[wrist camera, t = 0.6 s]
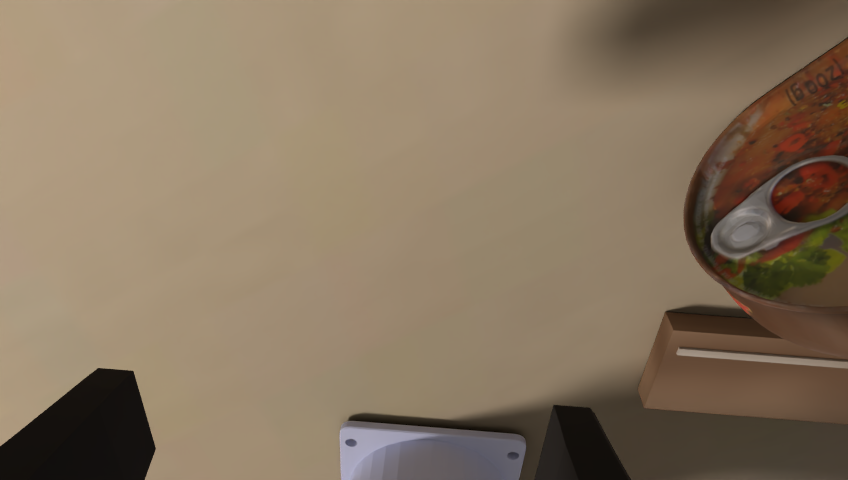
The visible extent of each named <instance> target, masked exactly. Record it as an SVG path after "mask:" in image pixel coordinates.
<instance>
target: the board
mask: <svg viewBox="0 0 848 480" xmlns="http://www.w3.org/2000/svg"><path fill="white" fill-rule="evenodd" d="M638 391H639V394H640V397H641V400H642V403H643V406H644V408H648V409H660V410H673V411H685V412H698V413H710V414H723V415H735V416H748V417H761V418H773V419H786V420H798V421H811V422H823V423H836V424H848V358H843V357H838V356H833V355H828V354H824V353H820V352H816V351H813V350H810V349H807V348H804V347H802V346H799V345H796V344H794V343H792V342H790V341H787V340H785V339H783V338H781V337H779V336H778V335H776V334H774V333H772V332H771V331H769V330H767V329H766V328H765V327H763V326H762V325H760V324H759V323H758V322H757V321H755V320H754V319H749V318H736V317H723V316H711V315H698V314H685V313H672V312H665V314H664V317H663V320H662V323H661V325H660V328H659V331H658V334H657V337H656V339H655V342H654V345H653V348H652V350H651V353H650V356H649V359H648V362H647V364H646V367H645V370H644V373H643V376H642V378H641V381H640V384H639V387H638Z"/></svg>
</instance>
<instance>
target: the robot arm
mask: <svg viewBox="0 0 848 480" xmlns="http://www.w3.org/2000/svg"><path fill="white" fill-rule="evenodd" d="M155 449H156V448H155V444H154V441H153V437H152V434H151V431H150V427H149V424H148V420H147V417H146V413H145V410H144V406H143V403H142V399H141V396H140V392H139V389H138V386H137V382H136V379H135V375H134V372H133V371H128V370H115V369H103V368H98V369H97V370H95V371H94V372H93V373H91V374H90V375H89V376H88V377H86V378H85V379H84V380H82V381H81V382H80V383H79V384H77V385H76V386H75V387H74V388H72V389H71V390H70V391H69V392H68V393H66V394H65V395H64V396H63V397H61V398H60V399H59V400H58V401H56V402H55V403H54V404H53V405H51V406H50V407H49V408H48V409H47V410H45V411H44V412H43V413H42V414H40V415H39V416H38V417H37V418H35V419H34V420H33V421H32V422H30V423H29V424H28V425H27V426H25V427H24V428H23V429H22V430H20V431H19V432H18V433H17V434H15V435H14V436H13V437H12V438H10V439H9V440H8V441H7V442H5V443H4V444H3V445H1V446H0V480H145V477H146V474H147V471H148V469H149V466H150V463H151V460H152V458H153V455H154V452H155ZM525 452H526V440H525V438H524V437H523V436H521V435H518V434H511V433H498V432H486V431H473V430H461V429H449V428H436V427H424V426H411V425H399V424H386V423H374V422H362V421H347V422H344V423H343V424H342V425H341V429H340V460H341V480H519V478H520V473H521V469H522V465H523V460H524V456H525ZM535 480H631V479H630V477H629V476H628V474H627V472H626V470H625V469H624V467H623V465H622V463H621V462H620V460H619V458H618V456H617V455H616V453H615V451H614V449H613V447H612V445H611V444H610V442H609V440H608V438H607V436H606V434H605V432H604V431H603V429H602V427H601V425H600V423H599V421H598V419H597V417H596V415H595V413H594V412H593V411H592V410H591V409H590V408H584V407H572V406H559V405H554V406H553V409H552V413H551V417H550V421H549V425H548V429H547V433H546V437H545V441H544V445H543V448H542V452H541V456H540V460H539V464H538V468H537V472H536V476H535Z"/></svg>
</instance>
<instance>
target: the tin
mask: <svg viewBox="0 0 848 480" xmlns="http://www.w3.org/2000/svg"><path fill="white" fill-rule="evenodd" d="M684 230H685V235H686V240H687V243H688V245H689V247H690V250H691V252H692V254H693V255H694V257H695V259H696V260H697V262H698V263H699V264H700V266H701V267H702V268H703V269H704V270H705V272H706V273H707V274H709V275H710V276H711V277H712V278H713V279H714V280H715V281H717V282H718V283H720V284H721V285H722V286H723V287H724V288H725V289H726V291H727V292H728V293H729V294H730V296H731V297H732V298H733V299H734V300H735V301H736V303H737V304H738V305H739V306H740V307H741V308H742V309H743V310H744V311H745V312H746V313H747V314H748V315H749V316H751V317H752V318H753V319H754V320H755V321H757V322H758V323H759V324H760V325H762V326H763V327H765V328H766V329H767V330H769V331H771V332H772V333H774V334H776V335H778V336H779V337H781V338H783V339H785V340H787V341H790V342H792V343H794V344H796V345H799V346H802V347H804V348H807V349H810V350H813V351H816V352H820V353H824V354H828V355H833V356H838V357H843V358H848V38H847V39H846V40H844V41H843V42H841V43H840V44H839V45H837V46H836V47H834V48H833V49H831V50H830V51H828V52H827V53H825V54H824V55H822V56H821V57H819V58H818V59H816V60H815V61H814V62H812V63H811V64H809V65H808V66H806V67H805V68H803V69H802V70H800V71H799V72H797V73H796V74H794V75H793V76H792V77H790V78H789V79H787V80H786V81H784V82H783V83H781V84H780V85H778V86H777V87H775V88H774V89H772V90H771V91H769V92H768V93H767V94H765V95H764V96H762V97H761V98H760V99H758V100H757V101H756V102H754V103H753V104H752V105H751V106H749V107H748V108H747V109H746V110H745V111H743V112H742V113H741V114H740V115H739V116H738V117H737V118H736V119H735V120H734V121H733V122H732V123H731V124H730V125H729V126H728V127H727V128H726V129H725V130H724V131H723V132H722V133H721V134H720V135H719V137H718V138H717V139H716V140H715V142H714V143H713V144H712V146H711V147H710V148H709V149H708V151H707V152H706V154H705V155H704V157H703V158H702V160H701V162H700V163H699V165H698V167H697V169H696V171H695V173H694V175H693V177H692V180H691V182H690V185H689V187H688V191H687V195H686V199H685V204H684Z"/></svg>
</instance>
